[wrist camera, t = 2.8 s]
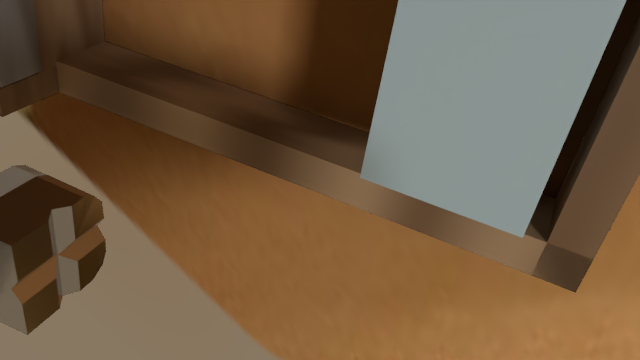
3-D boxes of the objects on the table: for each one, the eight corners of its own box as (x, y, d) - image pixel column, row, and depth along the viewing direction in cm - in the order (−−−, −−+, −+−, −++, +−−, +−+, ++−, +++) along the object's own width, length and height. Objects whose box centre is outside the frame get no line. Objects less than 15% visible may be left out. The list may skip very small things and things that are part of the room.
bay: (790, -163, 15) (865, -160, 10) (581, 243, 22) (568, 353, 18) (46, -286, 21) (-119, -319, 17) (78, 60, 29) (-30, 104, 24)
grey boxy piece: (634, -64, 17) (637, -24, 13) (543, 155, 21) (518, 245, 17) (469, -100, 19) (415, -77, 14) (414, 112, 23) (357, 185, 18)
